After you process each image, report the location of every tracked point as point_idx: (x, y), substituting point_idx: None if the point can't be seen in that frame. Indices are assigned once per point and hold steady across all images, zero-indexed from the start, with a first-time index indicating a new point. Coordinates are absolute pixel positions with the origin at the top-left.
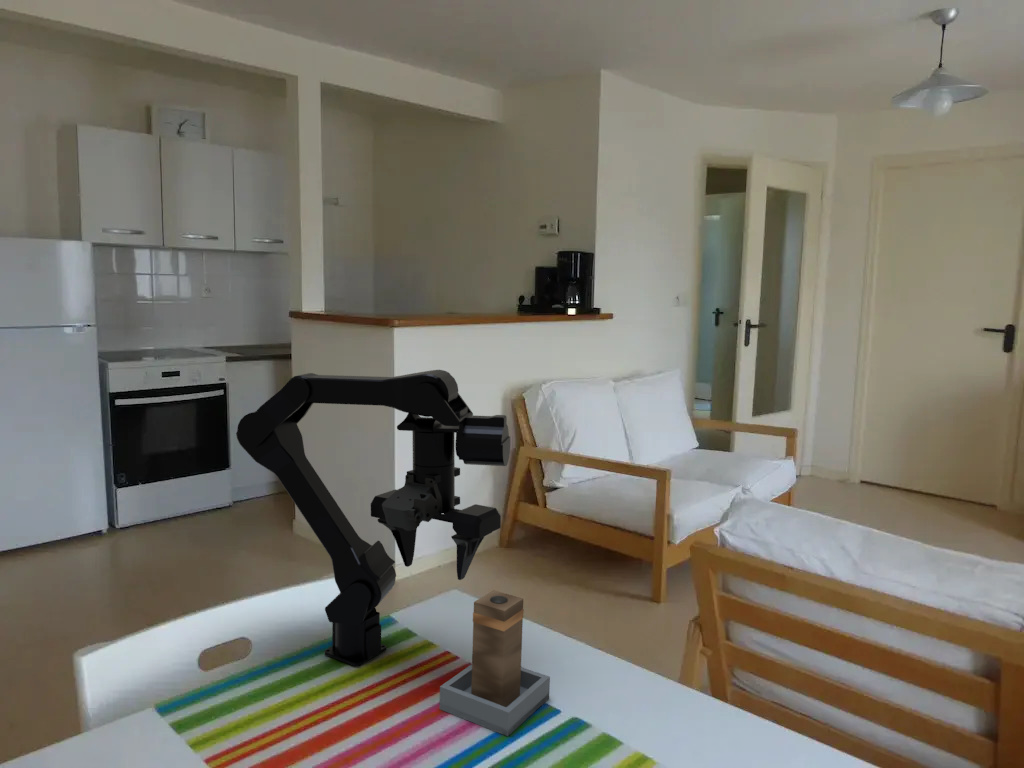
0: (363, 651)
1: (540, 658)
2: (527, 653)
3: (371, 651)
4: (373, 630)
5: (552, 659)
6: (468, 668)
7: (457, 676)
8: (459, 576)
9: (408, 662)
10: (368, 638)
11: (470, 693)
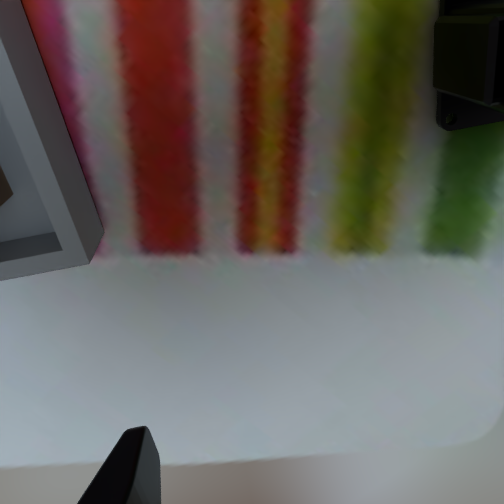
0: (465, 7)
1: (92, 384)
2: (133, 379)
3: (443, 34)
4: (486, 51)
5: (70, 399)
6: (40, 161)
7: (11, 90)
8: (122, 447)
9: (329, 126)
10: (477, 19)
11: (3, 112)
